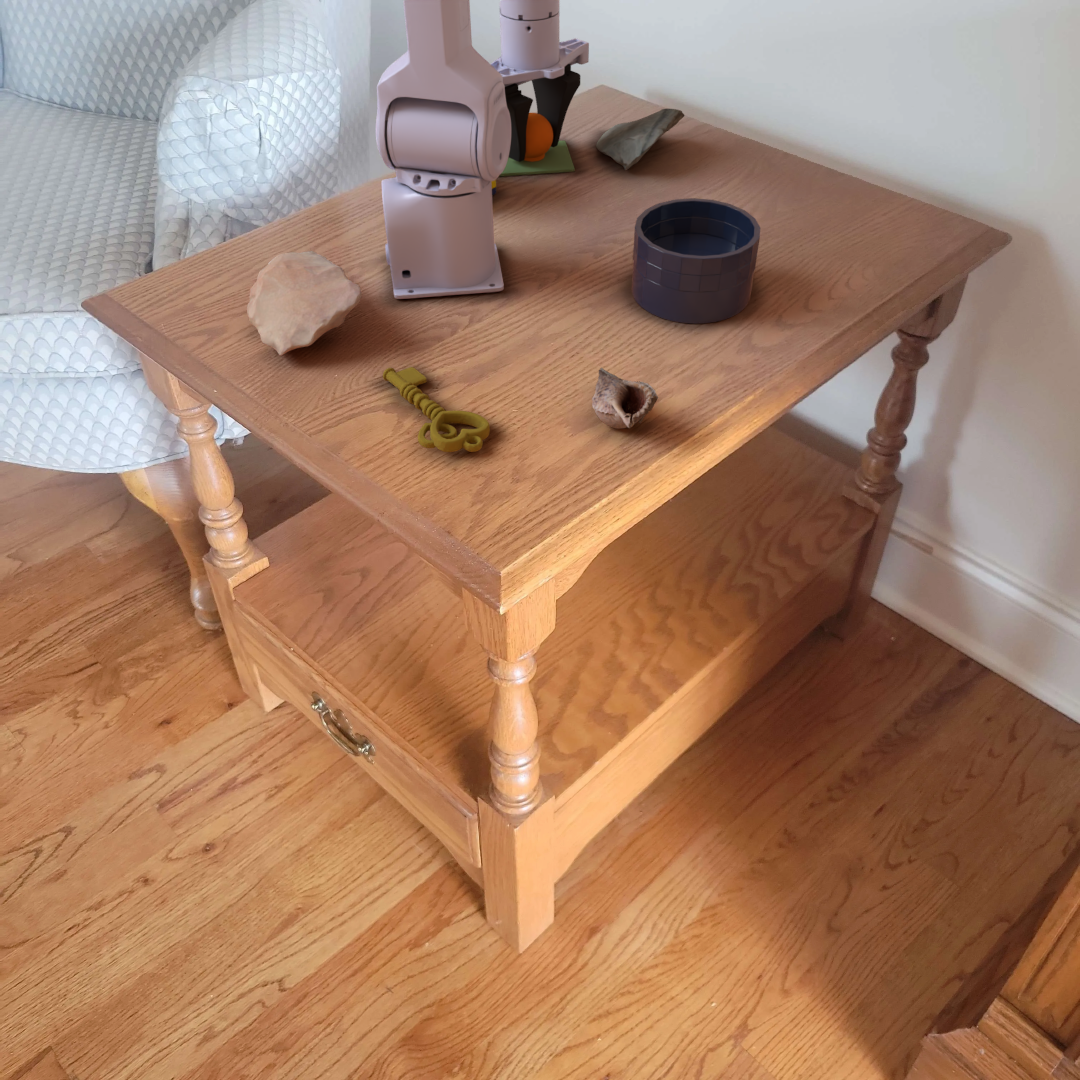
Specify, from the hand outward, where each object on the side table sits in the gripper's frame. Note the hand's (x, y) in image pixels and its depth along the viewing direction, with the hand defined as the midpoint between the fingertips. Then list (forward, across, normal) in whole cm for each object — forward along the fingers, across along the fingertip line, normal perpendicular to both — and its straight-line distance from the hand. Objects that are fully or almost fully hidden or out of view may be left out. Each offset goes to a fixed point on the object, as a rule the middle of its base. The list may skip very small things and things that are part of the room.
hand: (532, 150), depth 106 cm
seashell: (0, -24, -37) cm, 44 cm away
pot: (+1, -8, -29) cm, 30 cm away
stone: (+1, +8, -6) cm, 11 cm away
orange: (-2, 0, 0) cm, 2 cm away
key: (0, -33, -27) cm, 42 cm away
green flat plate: (+1, 0, 0) cm, 1 cm away
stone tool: (-2, -37, -15) cm, 40 cm away
